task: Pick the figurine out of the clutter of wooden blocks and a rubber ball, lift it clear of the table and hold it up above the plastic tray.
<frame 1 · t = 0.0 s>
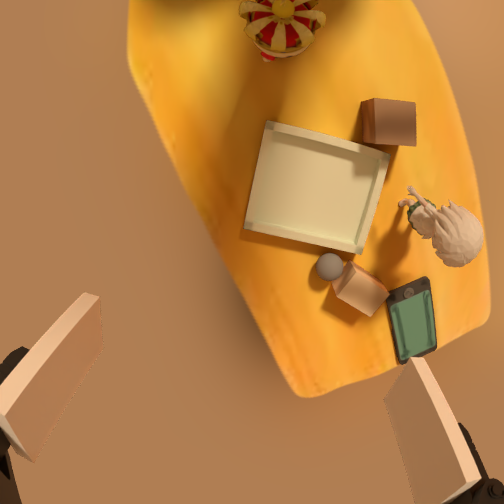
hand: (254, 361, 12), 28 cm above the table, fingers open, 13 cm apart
figurine: (410, 205, 37), on the table
smartphone: (411, 321, 44), on the table
tray: (316, 187, 37), on the table
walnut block: (380, 123, 33), on the table
grey ball: (327, 261, 40), on the table
toy: (278, 47, 31), on the table
maple block: (356, 281, 41), on the table
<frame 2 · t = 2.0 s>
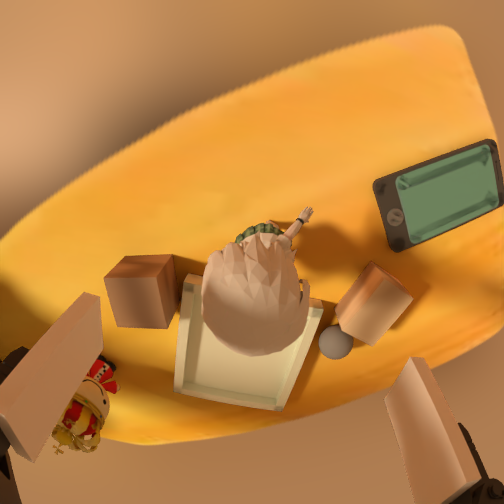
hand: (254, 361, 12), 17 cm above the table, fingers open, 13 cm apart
figurine: (257, 229, 28), on the table
smartphone: (444, 191, 26), on the table
tray: (240, 347, 32), on the table
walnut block: (152, 278, 30), on the table
grey ball: (333, 332, 31), on the table
toy: (106, 362, 35), on the table
maple block: (366, 293, 30), on the table
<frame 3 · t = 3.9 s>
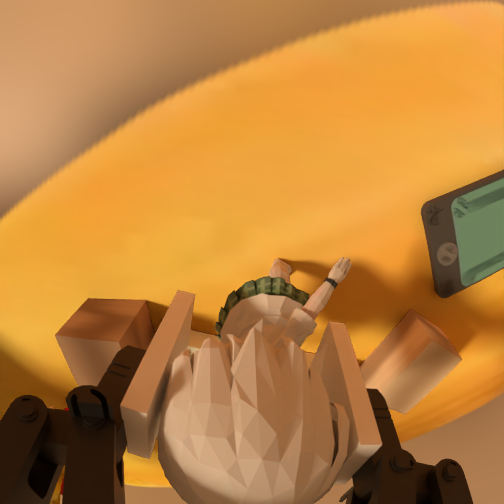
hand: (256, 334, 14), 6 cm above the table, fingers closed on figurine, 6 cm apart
figurine: (261, 271, 20), on the table, touching gripper
smartphone: (502, 216, 18), on the table
tray: (238, 408, 24), on the table
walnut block: (124, 327, 22), on the table
maple block: (400, 347, 21), on the table
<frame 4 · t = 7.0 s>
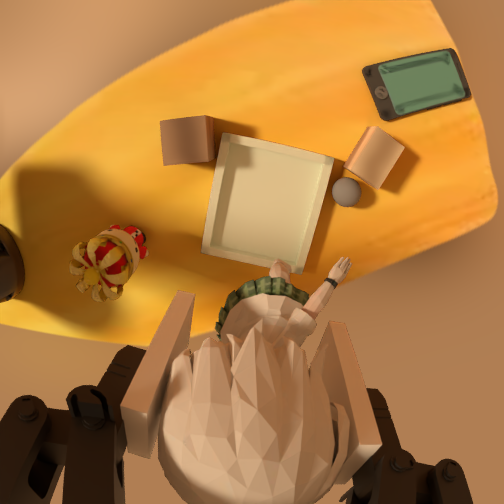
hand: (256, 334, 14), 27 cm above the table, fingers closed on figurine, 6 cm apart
figurine: (261, 270, 20), point 20 cm above the table, touching gripper
smartphone: (418, 82, 31), on the table
tray: (264, 203, 38), on the table
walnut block: (194, 139, 36), on the table
grey ball: (343, 189, 37), on the table
toy: (136, 235, 41), on the table
maple block: (368, 155, 35), on the table
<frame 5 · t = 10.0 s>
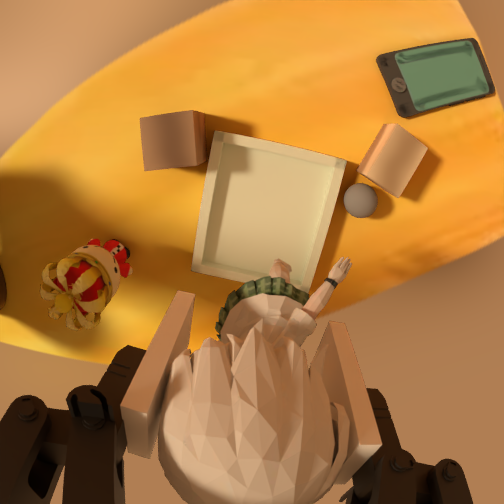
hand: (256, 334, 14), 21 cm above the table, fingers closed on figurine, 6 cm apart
figurine: (261, 270, 20), point 14 cm above the table, touching gripper
smartphone: (438, 75, 26), on the table
tray: (265, 213, 33), on the table
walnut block: (182, 139, 30), on the table
grey ball: (356, 197, 32), on the table
toy: (119, 250, 36), on the table
maple block: (384, 157, 30), on the table
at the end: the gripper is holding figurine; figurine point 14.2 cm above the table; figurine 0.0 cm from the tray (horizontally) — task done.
